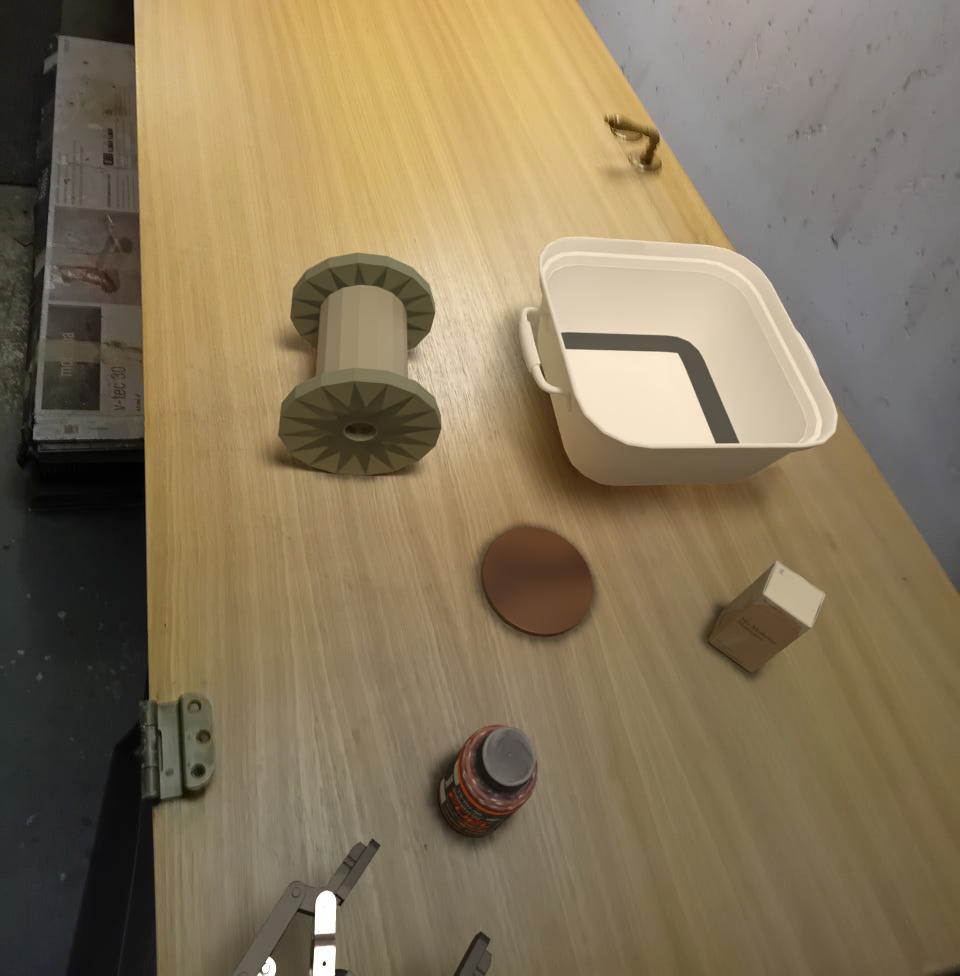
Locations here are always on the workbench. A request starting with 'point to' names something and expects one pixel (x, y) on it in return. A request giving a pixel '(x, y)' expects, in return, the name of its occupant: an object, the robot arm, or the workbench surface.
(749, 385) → the pot
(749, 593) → the box
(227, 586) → the workbench surface
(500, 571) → the disc
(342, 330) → the spool
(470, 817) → the supplement bottle
